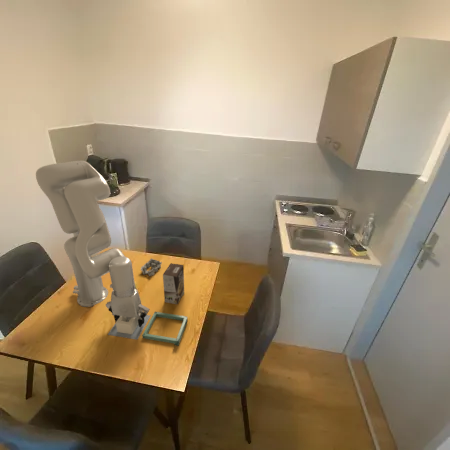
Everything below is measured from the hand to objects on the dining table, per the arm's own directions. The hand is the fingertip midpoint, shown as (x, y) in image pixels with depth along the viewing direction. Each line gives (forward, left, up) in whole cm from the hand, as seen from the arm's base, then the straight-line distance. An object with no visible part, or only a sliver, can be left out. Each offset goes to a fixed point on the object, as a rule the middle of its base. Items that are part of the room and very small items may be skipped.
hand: (129, 322), depth 99 cm
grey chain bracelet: (-7, +37, -3) cm, 38 cm away
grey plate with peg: (0, 0, -2) cm, 2 cm away
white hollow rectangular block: (0, 0, -1) cm, 1 cm away
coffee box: (+12, +19, -2) cm, 23 cm away
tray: (+14, +1, -2) cm, 15 cm away
